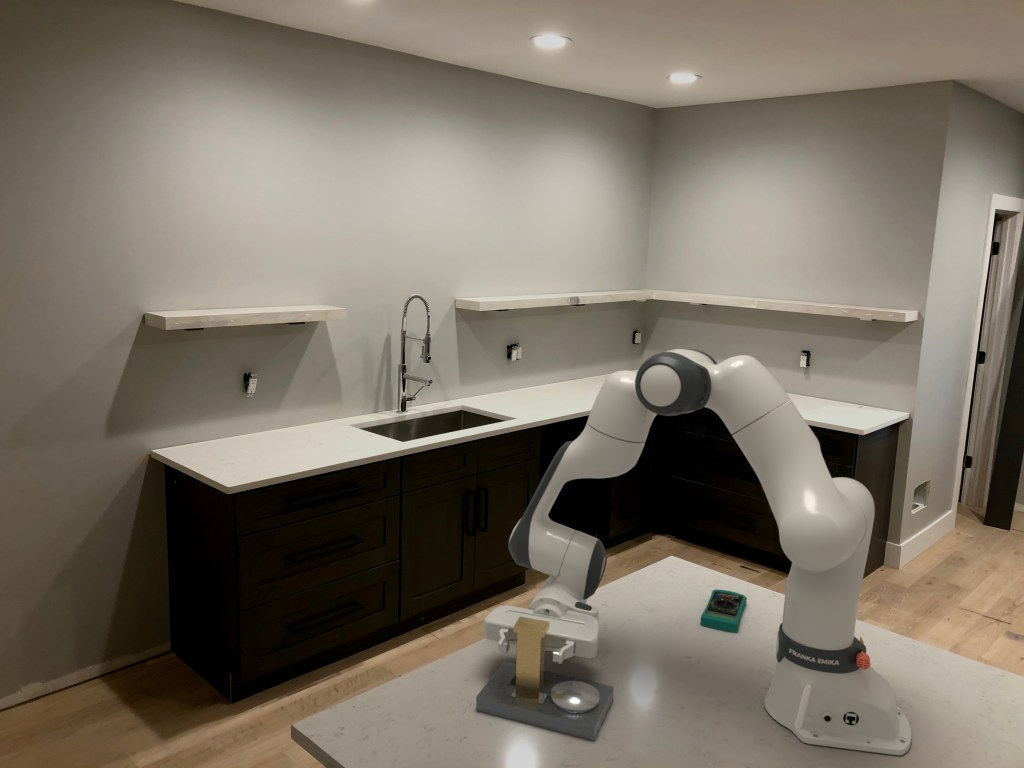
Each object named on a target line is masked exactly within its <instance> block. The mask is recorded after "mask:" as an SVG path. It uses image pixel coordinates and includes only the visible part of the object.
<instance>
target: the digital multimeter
mask: <svg viewBox="0 0 1024 768" xmlns="http://www.w3.org/2000/svg"><path fill="white" fill-rule="evenodd" d="M746 606H747V597H746V596H745V594H742V593H739V592H735V591H732V590H725V589H713V590H712V591H711V593H710V597H709V599H708V602H707V604H706V606H705V609H704V610H703V611H702V614H701V615H700V622H699V623H700V625H701V626H703V627H706V628H709V629H714V630H717V631H724V632H728V633H733V634H735V633H737V632H738V629H739V625H740V622H741V618H742V616H743V615H742V614H743V613H744V610H745V608H746Z"/></svg>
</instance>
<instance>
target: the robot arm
mask: <svg viewBox="0 0 1024 768" xmlns="http://www.w3.org/2000/svg"><path fill="white" fill-rule="evenodd" d="M593 402H594V403H593V405H592V407H591V410H590V411H589V414H588V418H587V421H586V424H585V425H584V426H585V427H584V429H583V430H582V432H581V433H580V434H579V435H578V436H577V438H575V439H574V440H570V441H569V440H568V441H565V442H564V443H563V445H561V446H560V448H559V449H558V450H557V451H556V454H555V455H554V456H553V458H552V460H551V462H550V464H549V465H548V467H547V468H546V470H545V472H544V474H543V476H542V478H541V481H540V482H539V484H538V486H537V488H536V489H535V492H534V494H533V495H532V497H531V500H530V502H529V504H528V505H527V507H526V509H525V510H524V513H523V514H522V517H521V518H520V519H519V520H518V521H517V523H516V525H514V528H513V529H512V532H511V534H510V536H509V539H508V546H507V547H508V548H507V549H508V550H509V553H510V555H511V557H512V559H513V560H514V562H515V564H516V565H518V566H522V567H525V568H527V569H531V570H535V571H538V572H541V573H543V574H546V575H547V576H549V577H548V578H547V579H546V580H545V582H544V583H543V584H542V587H541V588H540V590H539V591H538V592H537V593H536V595H535V597H534V598H533V600H532V601H531V602H530V603H529V605H528V607H527V608H525V607H519V606H514V605H506V604H505V605H500V606H497V607H496V608H495V609H493V610H492V611H491V612H490V613H489V614H488V615H487V616H486V617H485V618H484V621H483V636H484V637H485V638H486V639H487V640H489V641H495V642H498V648H497V649H498V652H499V653H506V654H507V653H508V652H509V650H510V648H511V645H515V646H517V633H516V632H514V625H515V624H516V622H517V620H518V619H519V617H525V618H531V619H537V620H543V621H548V622H550V628H549V630H548V631H547V633H546V635H545V652H552V662H553V663H556V664H563V662H564V660H566V659H570V658H572V657H577V658H582V659H583V658H584V659H588V660H591V659H593V658H596V657H597V655H598V652H599V641H600V640H599V639H600V617H599V608H597V607H596V606H593V605H590V604H588V603H587V602H588V599H589V598H591V597H592V596H593V595H594V594H596V592H597V589H598V587H599V585H600V583H601V582H602V579H603V576H604V573H605V570H606V566H607V562H608V555H607V551H606V549H605V546H604V544H603V542H602V541H601V540H600V539H599V538H596V537H595V536H593V535H590V534H588V533H585V532H583V531H579V530H576V529H574V528H570V527H569V526H566V525H564V524H560V523H558V522H557V521H556V522H555V521H553V519H551V518H550V517H549V514H550V511H551V509H552V507H553V505H554V503H555V501H556V500H557V498H558V496H559V493H560V492H561V490H562V489H563V487H564V485H565V484H566V483H567V482H570V481H572V480H577V479H578V480H579V479H607V478H608V479H609V478H614V477H619V476H621V475H623V474H626V473H628V472H629V471H630V470H632V468H634V467H635V466H636V464H637V463H638V461H639V458H640V457H641V455H642V452H643V450H644V447H645V443H646V441H647V438H648V435H649V432H650V428H651V426H652V424H653V421H654V419H655V418H656V416H657V415H661V416H665V417H667V416H668V417H673V416H680V415H682V414H683V415H684V414H690V413H692V412H695V411H697V410H701V409H703V408H707V409H709V410H712V411H713V412H714V413H715V414H717V415H718V416H719V418H720V419H721V421H722V422H723V423H724V425H725V427H726V428H727V430H728V431H729V433H730V434H731V437H732V438H733V439H734V440H735V442H736V444H737V446H738V447H739V448H740V450H741V452H742V453H743V455H744V456H745V458H746V459H747V461H748V463H749V464H750V466H751V468H752V469H753V471H754V473H755V475H756V476H757V478H758V480H759V483H760V484H761V487H762V490H763V492H764V493H765V496H766V499H767V501H768V504H769V506H770V510H771V512H772V514H773V517H774V519H775V521H776V525H777V528H778V535H779V543H780V547H781V549H782V551H783V553H784V554H785V556H786V557H787V558H788V559H789V561H790V562H791V567H790V571H789V573H788V575H787V579H786V584H785V591H784V602H783V613H782V622H781V623H780V624H779V628H778V631H777V637H776V644H775V645H776V646H775V655H776V656H775V657H776V663H775V664H776V665H775V668H774V672H773V675H772V679H771V683H770V685H769V688H768V691H767V693H766V694H765V696H764V699H763V704H764V707H765V709H766V711H767V713H768V714H769V715H770V716H771V718H773V719H774V720H775V721H776V722H778V723H779V724H781V725H782V726H783V727H786V728H787V729H789V730H790V731H792V733H793V734H794V735H795V736H796V737H797V738H798V739H799V740H800V741H801V742H803V743H804V744H805V743H806V744H808V745H816V746H823V747H832V748H838V749H845V750H846V749H848V750H855V751H862V752H870V753H876V754H877V753H879V754H885V755H892V756H903V755H905V754H906V753H907V752H908V751H909V750H910V748H911V746H912V745H911V744H912V729H911V723H910V722H909V721H910V720H909V719H908V717H907V715H906V714H905V713H904V711H903V710H902V709H901V708H900V707H899V706H898V701H897V698H896V697H897V696H896V695H895V692H894V690H893V688H892V686H891V683H890V682H889V681H888V679H886V678H885V677H883V676H882V675H881V674H880V673H879V672H878V671H877V670H875V669H874V668H873V667H872V666H871V658H870V655H868V654H867V646H866V645H865V643H864V640H863V638H862V636H860V637H859V639H858V638H857V637H856V636H855V633H856V632H855V631H856V624H857V615H858V608H859V607H858V605H859V600H860V599H859V598H860V592H861V587H862V583H863V578H864V575H865V569H866V565H867V561H868V554H869V549H870V545H871V537H872V532H873V528H874V522H875V514H876V513H875V512H876V511H875V508H876V507H875V501H874V498H873V496H872V493H871V492H870V491H869V489H868V488H867V487H866V486H865V485H864V484H863V483H862V482H860V481H858V480H856V479H853V478H850V477H846V476H845V477H843V476H841V477H840V476H839V477H832V475H831V473H830V471H829V468H828V467H827V464H826V461H825V459H824V457H823V453H822V450H821V444H820V441H819V440H818V438H817V436H816V435H815V433H814V432H813V430H812V429H811V427H810V426H809V424H808V423H807V422H806V421H805V418H804V417H803V416H802V414H801V412H800V411H799V410H798V408H797V407H796V405H795V404H794V402H793V400H792V399H791V398H790V396H789V395H788V394H787V392H786V391H785V389H784V388H783V386H782V385H781V384H780V382H778V381H777V379H776V378H775V377H774V375H773V374H771V372H770V371H769V370H768V369H767V368H766V367H765V366H764V364H762V363H761V362H760V360H758V359H757V358H755V357H754V356H751V355H747V354H742V355H741V354H739V355H735V356H731V357H729V358H726V359H724V360H723V361H721V362H719V363H718V362H717V361H716V360H715V358H713V357H712V356H711V355H710V354H708V353H707V352H704V351H702V350H698V349H692V348H690V349H685V348H675V349H671V350H667V351H663V352H662V351H661V352H658V353H656V354H652V355H651V356H650V357H648V358H647V359H646V360H645V361H644V362H643V363H642V364H641V366H640V367H639V369H638V371H637V372H636V371H633V370H626V369H625V370H617V371H614V372H611V373H610V374H609V375H608V376H607V377H606V379H605V380H604V382H603V384H602V385H601V387H600V389H599V391H598V393H597V396H596V397H595V400H594V401H593ZM510 644H511V645H510Z"/></svg>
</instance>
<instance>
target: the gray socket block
mask: <svg viewBox="0 0 1024 768" xmlns="http://www.w3.org/2000/svg"><path fill="white" fill-rule="evenodd" d="M614 687H615V686H611V685H607V684H603V683H599V682H595V681H589V680H586V679H581V678H577V677H574V676H567V675H564V674H560V673H556V672H552V671H547V670H544V685H543V694H544V693H546V694H547V695H546V696H545V698H544V699H543V700H542V702H541V703H538V702H533V701H529V700H525V699H521V698H517V697H515V696H513V695H512V693H513V692H514V690H516V663H514V662H507V661H504V660H503V662H502V663H501V664H500V665H499V666H498V667H497V669H496V670H495V672H494V673H493V674H492V676H491V677H490V678H489V680H488V681H487V682H486V683H485V685H484V686H483V687H482V689H480V691H479V692H478V693H477V695H476V697H475V699H476V700H475V701H476V703H475V704H476V705H475V706H476V707H475V711H476V712H480V713H484V714H488V715H491V716H495V717H499V718H504V719H507V720H511V721H515V722H519V723H523V724H526V725H530V726H534V727H538V728H543V729H546V730H550V731H553V732H554V731H555V732H556V733H557V732H558V733H561V734H566V735H569V736H573V737H577V738H581V739H585V740H588V741H593V742H595V740H596V738H597V735H598V733H599V731H600V729H601V726H602V724H603V722H604V721H605V718H606V716H607V715H608V712H609V710H610V707H611V705H612V703H613V701H614V691H615V690H614ZM512 691H513V692H512Z"/></svg>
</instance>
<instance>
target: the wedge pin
mask: <svg viewBox="0 0 1024 768" xmlns="http://www.w3.org/2000/svg"><path fill="white" fill-rule="evenodd" d="M549 628H550V622H548V621H543V620H537V619H531V618H525V617H519V619H518V620H517V622H516V624H515V625H514V632H516V633H517V645H516V663H515V664H516V687H515V696H514V697H517V698H521V699H525V700H529V701H533V702H538V703H543V701H544V692H543V685H544V671H545V660H546V658H545V655H546V650H545V635H546V633H547V631H548V630H549Z"/></svg>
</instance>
